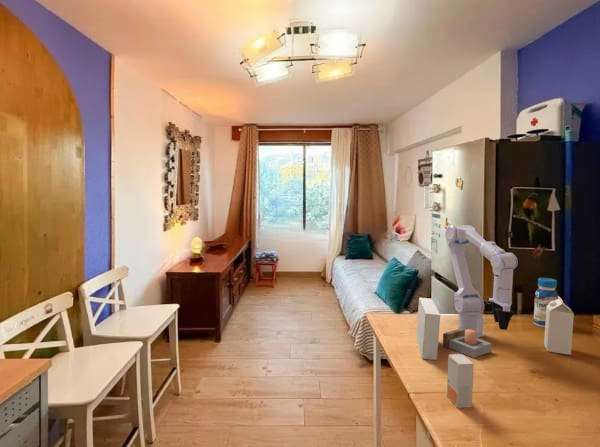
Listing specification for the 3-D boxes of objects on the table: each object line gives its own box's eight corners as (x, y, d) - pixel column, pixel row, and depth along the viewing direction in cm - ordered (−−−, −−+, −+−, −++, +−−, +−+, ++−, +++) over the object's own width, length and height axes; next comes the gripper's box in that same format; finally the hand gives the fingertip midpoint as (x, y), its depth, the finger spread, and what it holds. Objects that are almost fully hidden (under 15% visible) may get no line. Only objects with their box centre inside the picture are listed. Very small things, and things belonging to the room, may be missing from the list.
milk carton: (566, 348, 139) (570, 297, 138) (571, 355, 133) (574, 302, 131) (543, 344, 142) (547, 294, 141) (547, 351, 136) (550, 299, 134)
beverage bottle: (556, 324, 165) (559, 278, 163) (556, 329, 158) (559, 282, 156) (533, 320, 169) (536, 276, 168) (532, 325, 162) (535, 279, 160)
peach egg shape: (474, 348, 138) (475, 329, 137) (477, 353, 134) (478, 333, 133) (462, 347, 138) (463, 328, 138) (465, 352, 135) (466, 332, 134)
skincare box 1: (438, 361, 127) (440, 314, 126) (421, 359, 128) (423, 313, 127) (430, 337, 148) (432, 297, 147) (415, 336, 149) (417, 296, 148)
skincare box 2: (445, 395, 105) (447, 354, 104) (460, 395, 106) (462, 353, 105) (456, 408, 99) (458, 364, 98) (472, 407, 100) (474, 363, 99)
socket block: (466, 342, 143) (466, 334, 143) (491, 351, 135) (491, 343, 134) (448, 347, 138) (449, 339, 138) (473, 357, 129) (474, 349, 129)
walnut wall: (463, 340, 145) (464, 327, 145) (466, 341, 144) (467, 328, 144) (442, 346, 139) (443, 333, 139) (446, 348, 138) (446, 334, 137)
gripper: (486, 281, 140) (484, 317, 141) (494, 291, 126) (492, 331, 128) (507, 283, 138) (505, 319, 139) (518, 293, 124) (515, 333, 126)
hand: (500, 325), depth 133 cm, fingers open, 7 cm apart
